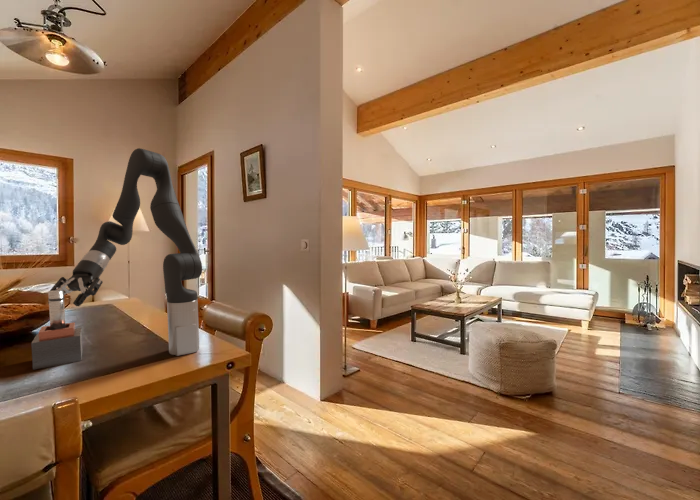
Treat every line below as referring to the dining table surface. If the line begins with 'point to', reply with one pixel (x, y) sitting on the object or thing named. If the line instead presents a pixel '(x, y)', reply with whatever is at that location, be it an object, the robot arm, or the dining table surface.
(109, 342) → the dining table surface
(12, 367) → the dining table surface
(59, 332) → the block
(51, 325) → the steel tube
